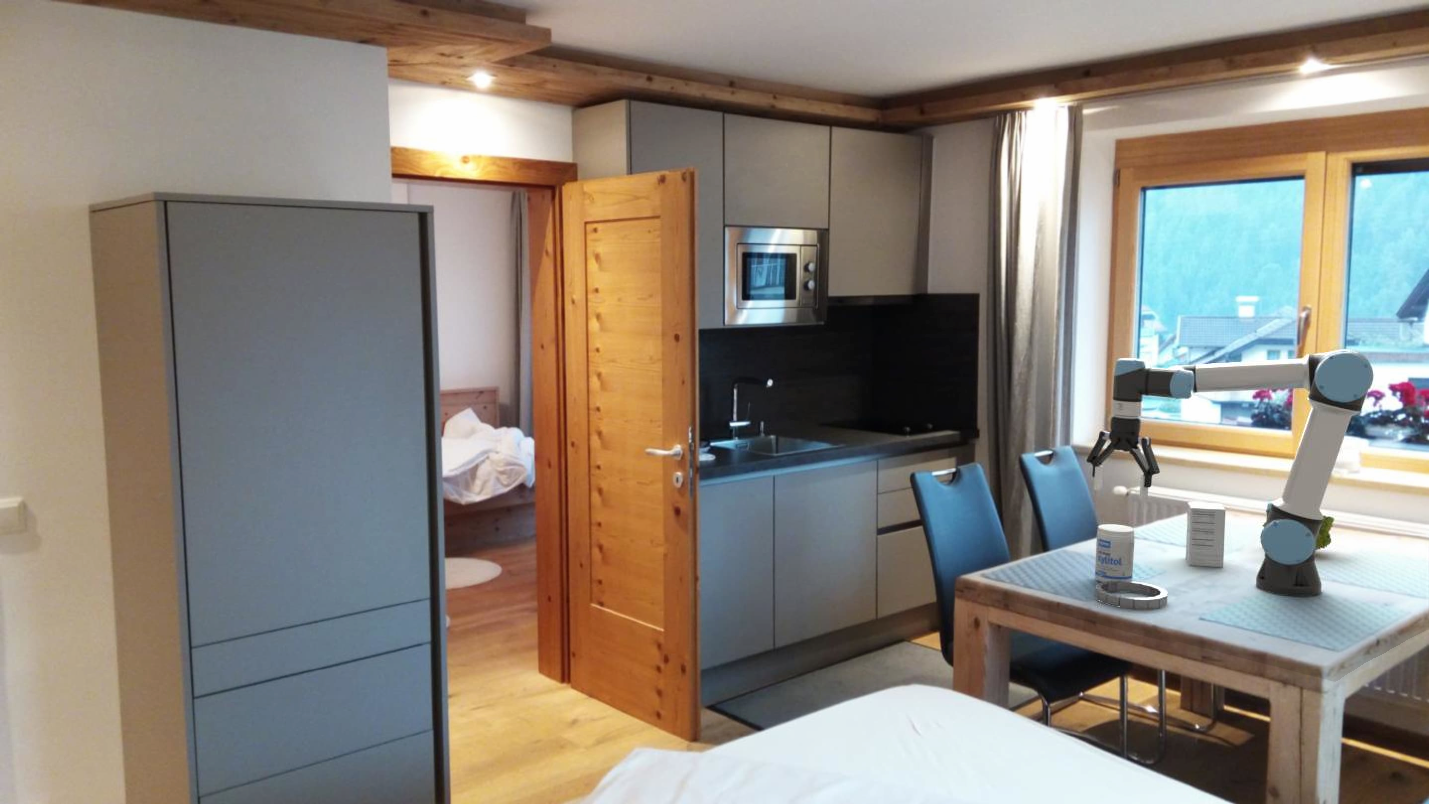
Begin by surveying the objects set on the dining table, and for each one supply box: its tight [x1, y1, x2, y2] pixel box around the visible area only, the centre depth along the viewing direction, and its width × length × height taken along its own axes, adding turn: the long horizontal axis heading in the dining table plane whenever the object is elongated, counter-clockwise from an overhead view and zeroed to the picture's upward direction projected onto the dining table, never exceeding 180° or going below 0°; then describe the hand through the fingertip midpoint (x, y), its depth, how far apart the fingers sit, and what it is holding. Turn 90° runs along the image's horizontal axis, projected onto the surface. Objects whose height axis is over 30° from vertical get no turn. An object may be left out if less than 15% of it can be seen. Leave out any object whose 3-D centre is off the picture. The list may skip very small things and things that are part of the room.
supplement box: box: [1185, 501, 1226, 568], centre depth 303 cm, size 10×9×17 cm
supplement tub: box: [1094, 523, 1136, 583], centre depth 285 cm, size 10×10×15 cm
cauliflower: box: [1262, 514, 1335, 551], centre depth 314 cm, size 18×16×16 cm
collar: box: [1094, 580, 1169, 610], centre depth 268 cm, size 17×17×2 cm
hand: (1120, 494), depth 284 cm, fingers open, 13 cm apart
